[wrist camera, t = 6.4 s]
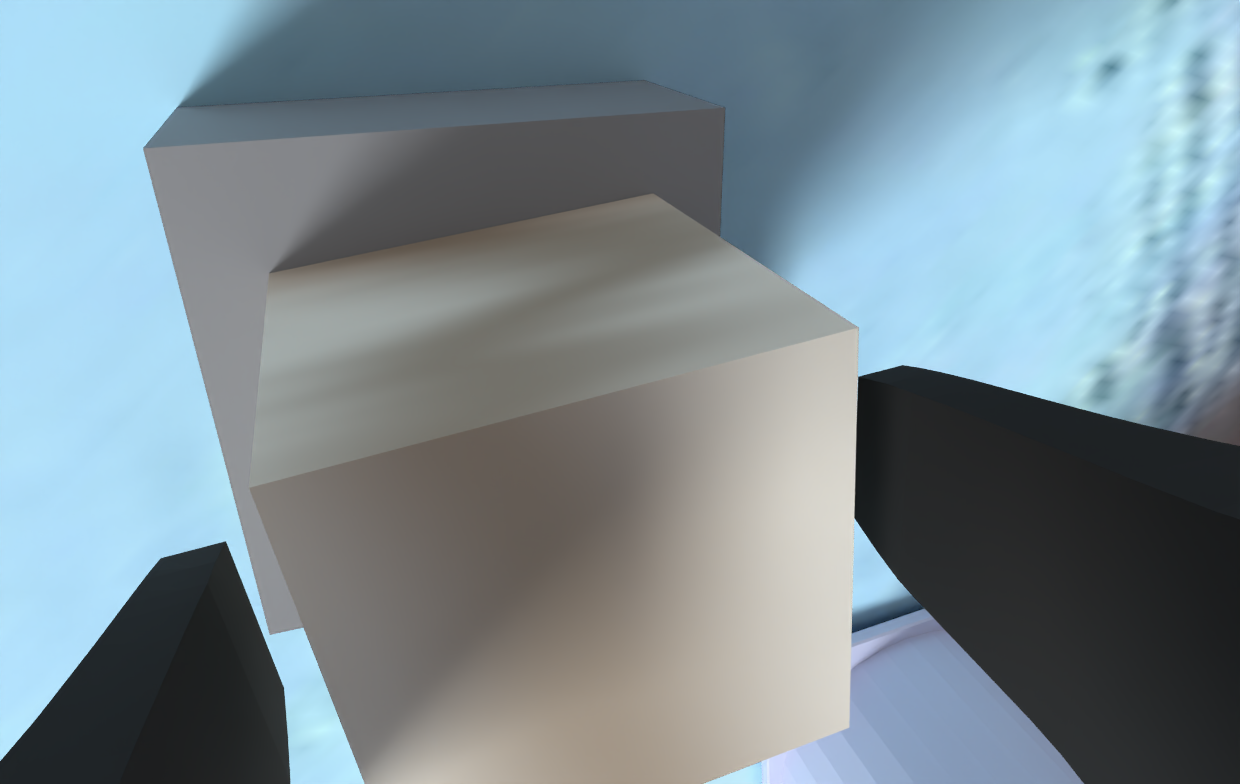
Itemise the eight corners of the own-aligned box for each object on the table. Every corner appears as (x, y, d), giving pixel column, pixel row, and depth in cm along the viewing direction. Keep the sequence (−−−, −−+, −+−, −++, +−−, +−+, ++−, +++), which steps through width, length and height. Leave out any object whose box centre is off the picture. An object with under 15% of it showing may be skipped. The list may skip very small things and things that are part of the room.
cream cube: (653, 193, 12) (859, 327, 7) (682, 494, 14) (849, 728, 10) (268, 273, 10) (249, 486, 6) (372, 586, 13) (408, 896, 9)
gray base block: (636, 77, 14) (725, 107, 11) (638, 439, 18) (707, 537, 15) (179, 104, 12) (143, 149, 9) (275, 506, 16) (269, 635, 13)
